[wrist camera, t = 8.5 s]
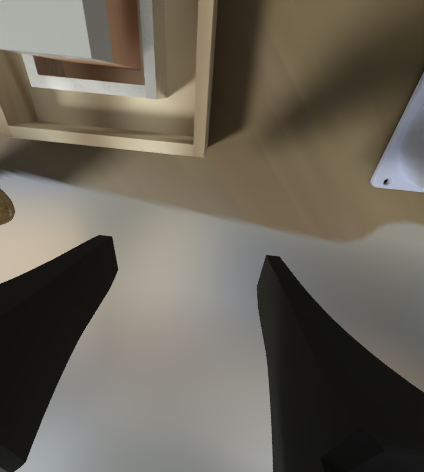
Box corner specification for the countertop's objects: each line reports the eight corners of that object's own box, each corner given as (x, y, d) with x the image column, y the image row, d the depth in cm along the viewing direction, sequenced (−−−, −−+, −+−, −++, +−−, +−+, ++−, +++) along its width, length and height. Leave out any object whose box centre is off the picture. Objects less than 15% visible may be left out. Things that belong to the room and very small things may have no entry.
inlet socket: (162, -78, 11) (146, -118, 9) (167, 98, 15) (156, 99, 13) (15, -91, 11) (-36, -134, 9) (59, 87, 15) (31, 86, 13)
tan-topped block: (134, -25, 12) (63, -110, 7) (141, 69, 14) (91, 58, 9) (59, -32, 12) (-67, -122, 7) (78, 63, 14) (-7, 48, 9)
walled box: (230, -175, 9) (230, -271, 7) (207, 147, 17) (203, 157, 14) (-71, -202, 10) (-177, -305, 7) (36, 129, 17) (2, 136, 14)
